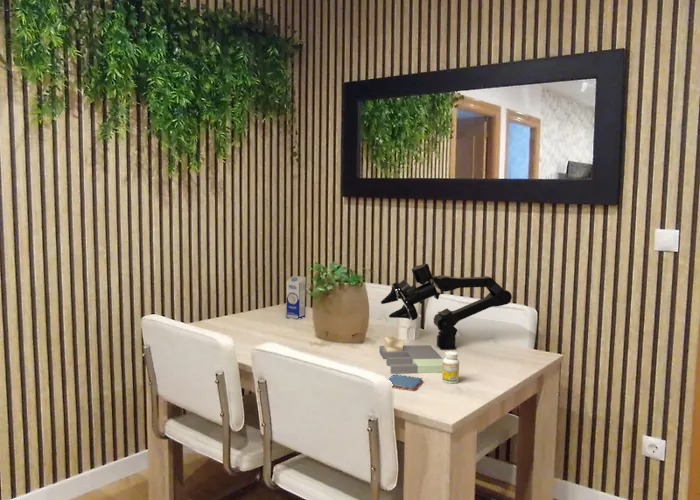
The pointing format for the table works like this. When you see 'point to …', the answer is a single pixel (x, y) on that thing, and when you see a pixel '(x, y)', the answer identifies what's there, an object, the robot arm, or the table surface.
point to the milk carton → (296, 297)
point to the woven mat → (405, 382)
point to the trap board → (413, 359)
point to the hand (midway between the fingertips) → (385, 309)
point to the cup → (409, 328)
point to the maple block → (393, 344)
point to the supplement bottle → (450, 368)
